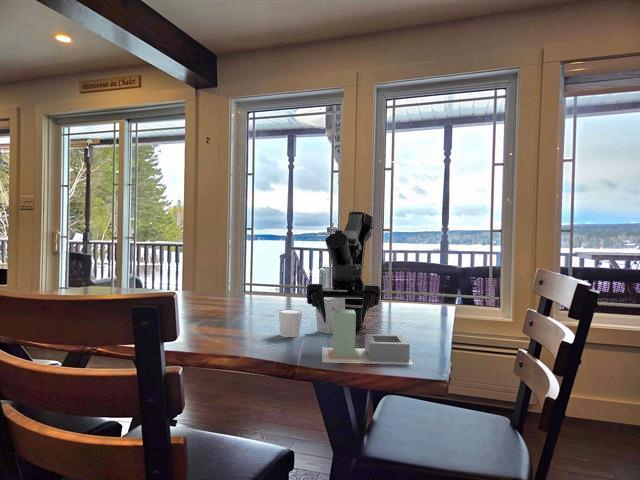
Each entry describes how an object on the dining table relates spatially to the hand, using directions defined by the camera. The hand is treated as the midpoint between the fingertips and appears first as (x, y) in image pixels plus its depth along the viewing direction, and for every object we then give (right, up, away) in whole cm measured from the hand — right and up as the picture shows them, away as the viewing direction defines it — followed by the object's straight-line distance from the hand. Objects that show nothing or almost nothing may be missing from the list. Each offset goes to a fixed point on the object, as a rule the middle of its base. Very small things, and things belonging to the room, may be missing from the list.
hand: (343, 322), depth 96 cm
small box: (-2, -8, +26) cm, 27 cm away
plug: (0, -7, -3) cm, 8 cm away
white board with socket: (+5, -8, -3) cm, 10 cm away
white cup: (-15, -8, +19) cm, 25 cm away
